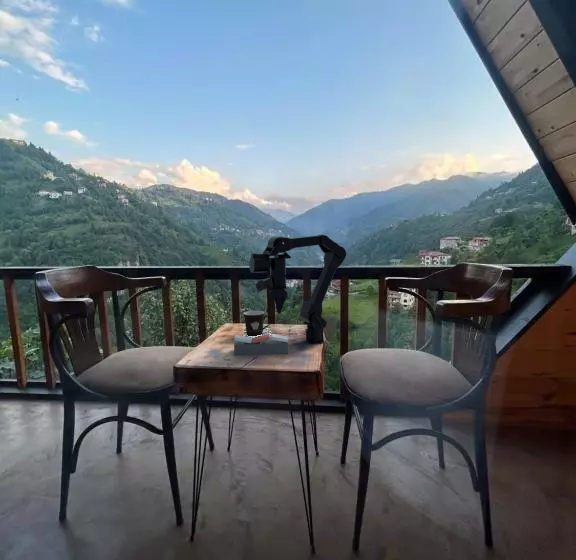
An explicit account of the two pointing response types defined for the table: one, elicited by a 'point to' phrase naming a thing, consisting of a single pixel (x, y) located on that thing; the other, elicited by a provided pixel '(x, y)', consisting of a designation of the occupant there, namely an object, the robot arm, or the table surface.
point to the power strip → (261, 348)
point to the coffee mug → (255, 322)
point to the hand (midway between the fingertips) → (279, 312)
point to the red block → (260, 338)
